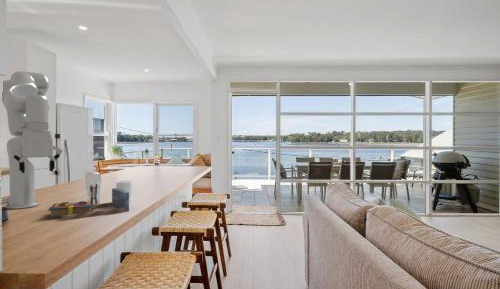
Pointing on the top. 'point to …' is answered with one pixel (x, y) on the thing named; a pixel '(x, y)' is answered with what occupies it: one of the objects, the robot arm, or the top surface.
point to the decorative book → (70, 208)
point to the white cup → (125, 187)
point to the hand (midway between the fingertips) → (37, 171)
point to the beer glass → (93, 186)
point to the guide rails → (118, 200)
